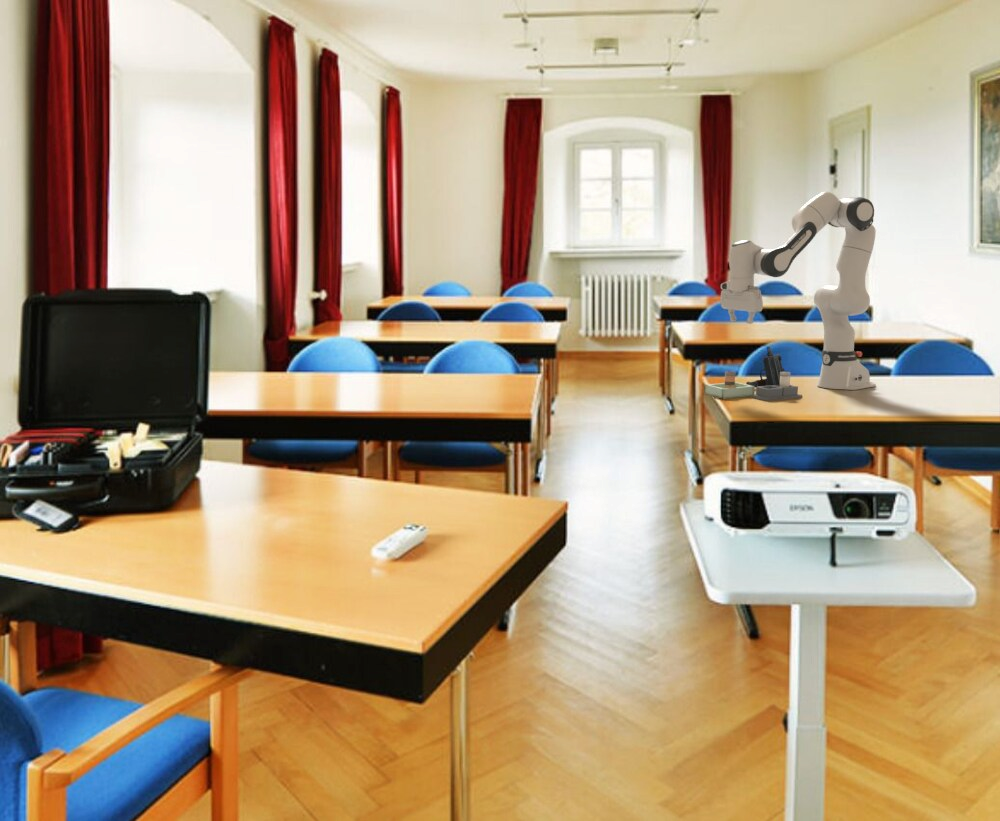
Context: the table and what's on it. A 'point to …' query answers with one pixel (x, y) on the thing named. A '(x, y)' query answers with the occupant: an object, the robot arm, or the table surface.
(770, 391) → the block
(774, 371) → the gun
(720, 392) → the tray
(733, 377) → the fuse
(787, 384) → the ball
